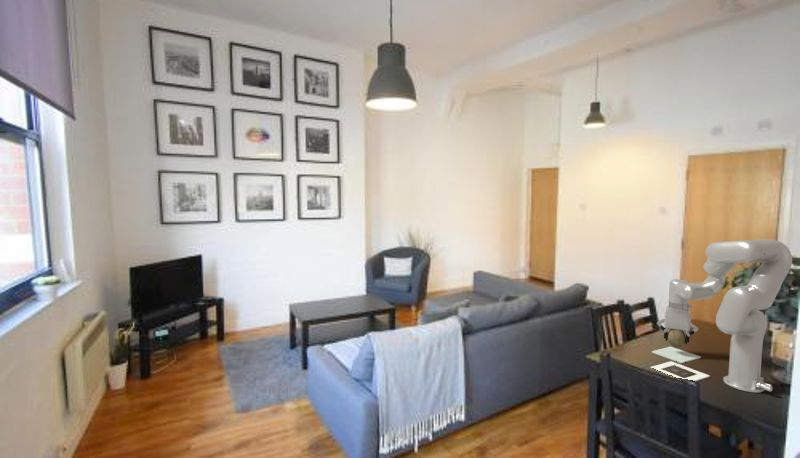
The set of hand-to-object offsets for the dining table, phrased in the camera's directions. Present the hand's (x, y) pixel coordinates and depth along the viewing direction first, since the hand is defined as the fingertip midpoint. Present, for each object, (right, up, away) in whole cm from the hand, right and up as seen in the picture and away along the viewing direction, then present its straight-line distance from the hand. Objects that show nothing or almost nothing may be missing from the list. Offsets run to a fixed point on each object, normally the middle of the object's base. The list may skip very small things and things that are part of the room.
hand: (676, 341), depth 188 cm
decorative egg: (0, -3, 0) cm, 3 cm away
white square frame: (-11, -8, -17) cm, 22 cm away
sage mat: (0, -7, 0) cm, 7 cm away
